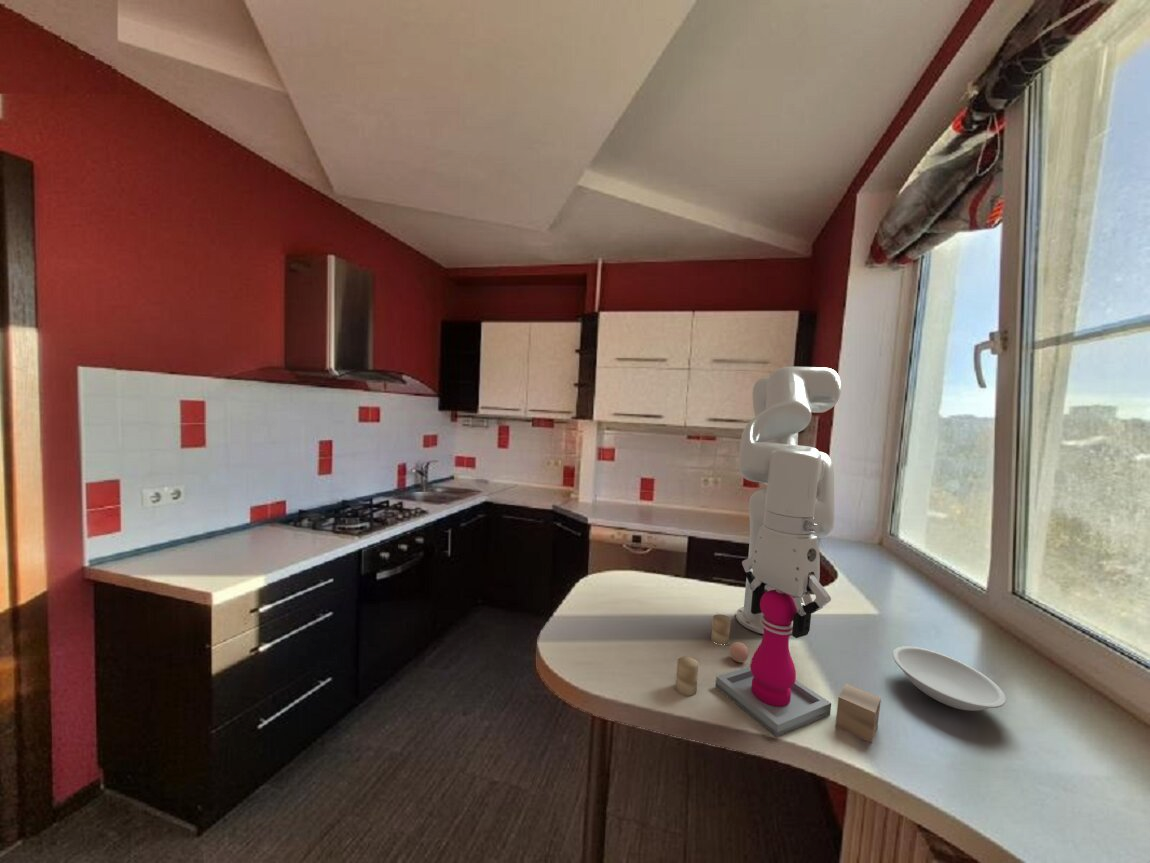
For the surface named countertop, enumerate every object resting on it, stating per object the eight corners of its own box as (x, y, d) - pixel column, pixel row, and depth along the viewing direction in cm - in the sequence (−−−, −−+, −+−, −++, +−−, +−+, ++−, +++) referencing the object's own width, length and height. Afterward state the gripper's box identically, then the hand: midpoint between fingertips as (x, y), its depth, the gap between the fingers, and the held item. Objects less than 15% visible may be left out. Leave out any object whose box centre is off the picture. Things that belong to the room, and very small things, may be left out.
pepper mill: (798, 712, 75) (810, 595, 73) (752, 704, 76) (762, 588, 74) (787, 685, 82) (798, 577, 80) (745, 678, 83) (754, 572, 81)
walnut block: (842, 711, 77) (845, 683, 77) (877, 727, 74) (880, 697, 73) (835, 726, 73) (838, 696, 73) (871, 743, 70) (875, 712, 69)
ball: (737, 653, 93) (739, 637, 92) (752, 663, 89) (753, 646, 89) (724, 657, 91) (726, 640, 91) (738, 667, 88) (740, 649, 87)
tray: (765, 670, 87) (766, 660, 87) (830, 714, 76) (831, 703, 76) (715, 686, 81) (716, 676, 81) (776, 737, 70) (777, 724, 70)
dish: (870, 667, 91) (873, 643, 90) (944, 672, 90) (947, 648, 90) (938, 732, 73) (942, 703, 73) (1030, 739, 73) (1034, 709, 72)
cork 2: (719, 635, 100) (721, 613, 99) (732, 643, 97) (734, 621, 96) (707, 638, 98) (709, 616, 98) (719, 647, 95) (721, 624, 94)
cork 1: (686, 681, 83) (689, 654, 82) (700, 693, 79) (703, 666, 79) (671, 685, 81) (673, 659, 81) (684, 698, 78) (686, 670, 77)
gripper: (853, 536, 70) (841, 645, 72) (761, 508, 86) (752, 598, 87) (822, 540, 67) (810, 655, 68) (732, 511, 82) (723, 604, 84)
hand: (778, 623), depth 78 cm, fingers open, 7 cm apart
